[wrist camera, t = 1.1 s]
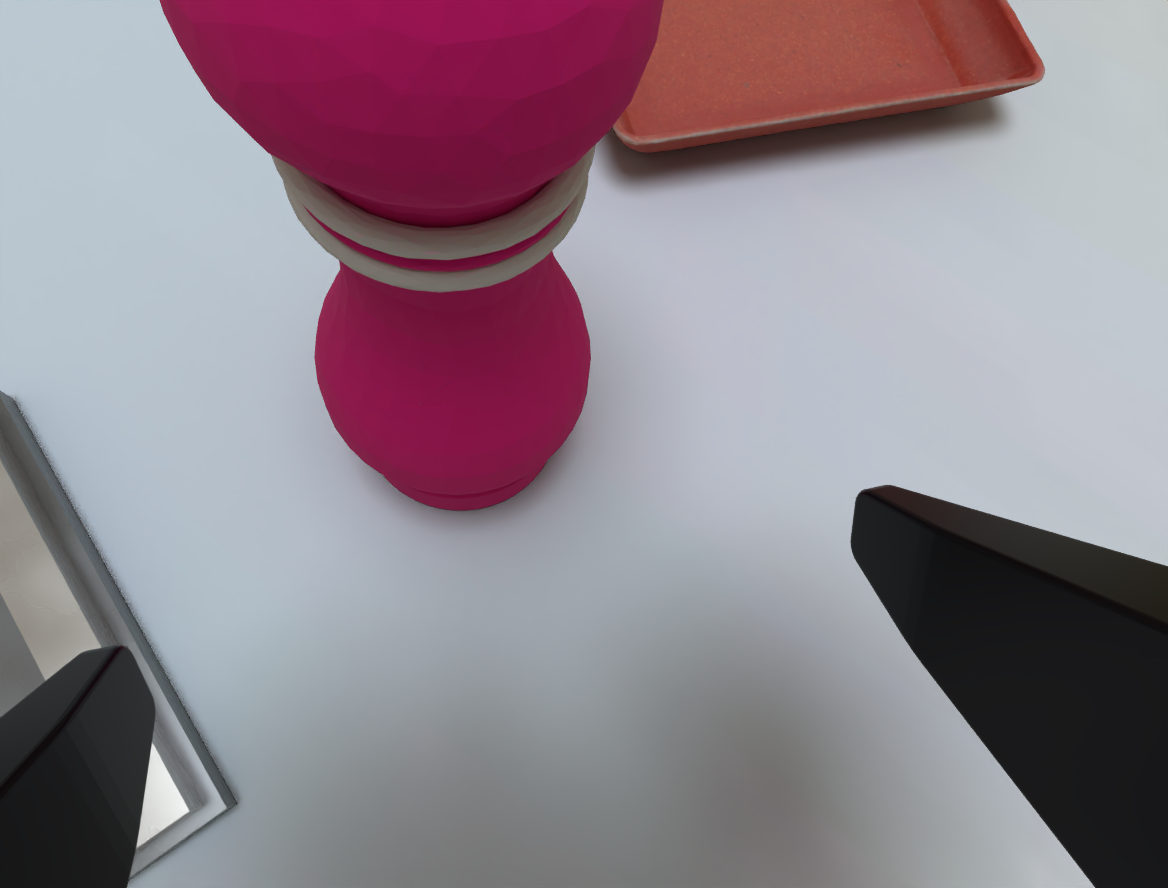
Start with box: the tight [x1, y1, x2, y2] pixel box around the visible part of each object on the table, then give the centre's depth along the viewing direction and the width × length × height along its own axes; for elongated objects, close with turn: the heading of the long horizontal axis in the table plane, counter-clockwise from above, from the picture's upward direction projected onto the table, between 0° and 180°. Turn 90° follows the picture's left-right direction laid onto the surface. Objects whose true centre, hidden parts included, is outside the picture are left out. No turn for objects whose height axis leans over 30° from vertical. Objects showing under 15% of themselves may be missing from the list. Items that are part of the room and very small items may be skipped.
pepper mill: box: [160, 0, 664, 510], centre depth 14 cm, size 7×7×20 cm
